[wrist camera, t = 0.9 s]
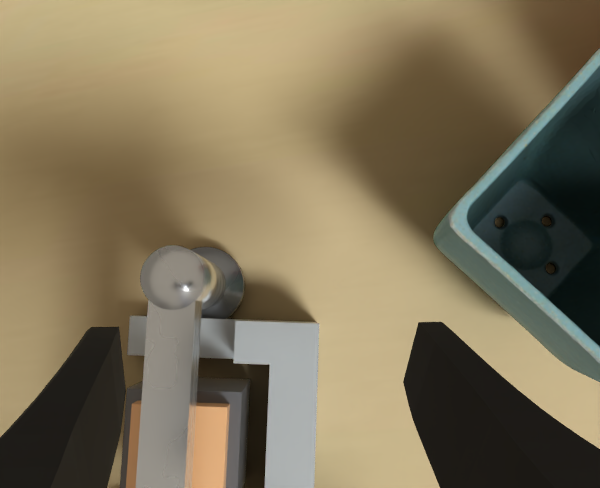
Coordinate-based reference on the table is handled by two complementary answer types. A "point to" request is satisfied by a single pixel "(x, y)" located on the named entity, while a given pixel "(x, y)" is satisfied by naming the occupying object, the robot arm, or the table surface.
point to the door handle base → (233, 282)
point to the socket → (282, 384)
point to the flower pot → (541, 226)
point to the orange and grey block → (201, 433)
